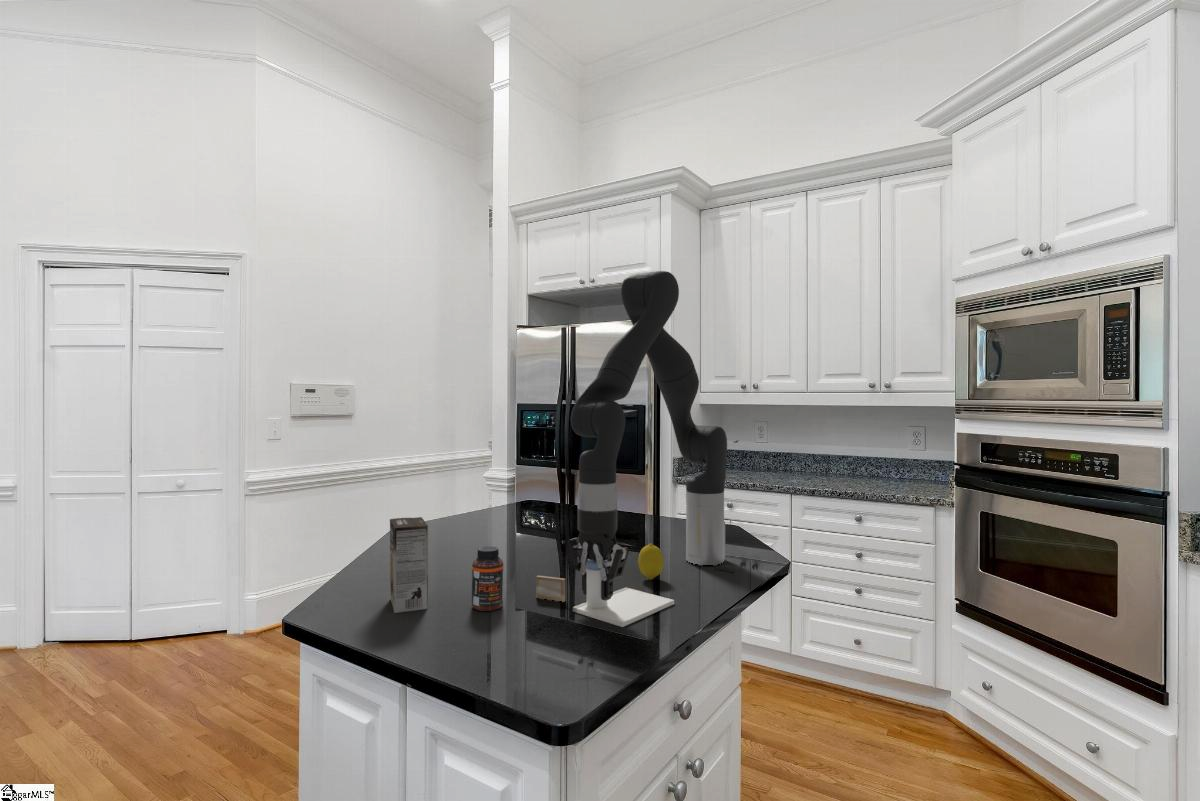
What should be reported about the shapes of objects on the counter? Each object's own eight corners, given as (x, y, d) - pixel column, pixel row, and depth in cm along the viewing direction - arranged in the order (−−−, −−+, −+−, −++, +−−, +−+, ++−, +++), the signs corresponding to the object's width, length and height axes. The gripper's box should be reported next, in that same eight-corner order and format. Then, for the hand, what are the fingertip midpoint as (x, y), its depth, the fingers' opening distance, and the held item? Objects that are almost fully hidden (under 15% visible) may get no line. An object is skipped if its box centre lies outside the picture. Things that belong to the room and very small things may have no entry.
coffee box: (389, 599, 124) (389, 518, 123) (422, 595, 126) (422, 515, 126) (393, 613, 115) (393, 527, 115) (428, 609, 118) (428, 524, 118)
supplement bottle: (476, 614, 115) (476, 553, 115) (468, 604, 120) (468, 546, 120) (507, 609, 118) (507, 550, 118) (497, 600, 123) (497, 543, 123)
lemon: (661, 584, 133) (662, 547, 133) (636, 582, 135) (636, 545, 135) (664, 576, 139) (664, 541, 139) (640, 575, 140) (640, 540, 140)
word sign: (537, 597, 125) (538, 575, 125) (565, 600, 123) (565, 578, 123) (536, 598, 124) (536, 576, 124) (563, 602, 122) (563, 579, 122)
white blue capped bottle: (596, 599, 120) (596, 556, 120) (612, 603, 117) (612, 560, 117) (581, 604, 117) (581, 561, 117) (598, 609, 114) (598, 565, 114)
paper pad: (626, 591, 129) (626, 587, 129) (674, 604, 121) (674, 599, 121) (572, 611, 116) (572, 607, 116) (622, 627, 109) (622, 622, 109)
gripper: (639, 507, 115) (639, 600, 115) (583, 499, 125) (582, 584, 125) (613, 513, 110) (613, 610, 110) (556, 504, 119) (556, 593, 119)
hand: (597, 596), depth 117 cm, fingers closed on white blue capped bottle, 4 cm apart
